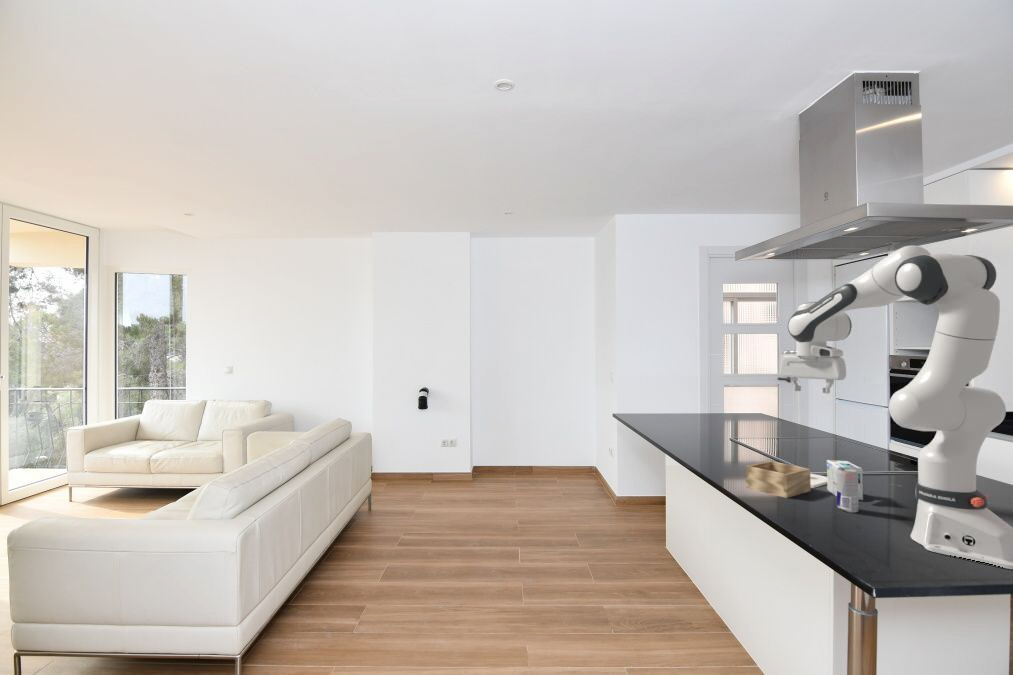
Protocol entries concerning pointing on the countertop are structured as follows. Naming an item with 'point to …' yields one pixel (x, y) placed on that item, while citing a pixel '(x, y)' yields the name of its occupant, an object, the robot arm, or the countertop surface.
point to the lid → (817, 480)
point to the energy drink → (847, 489)
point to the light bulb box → (832, 476)
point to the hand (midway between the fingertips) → (811, 392)
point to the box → (778, 479)
